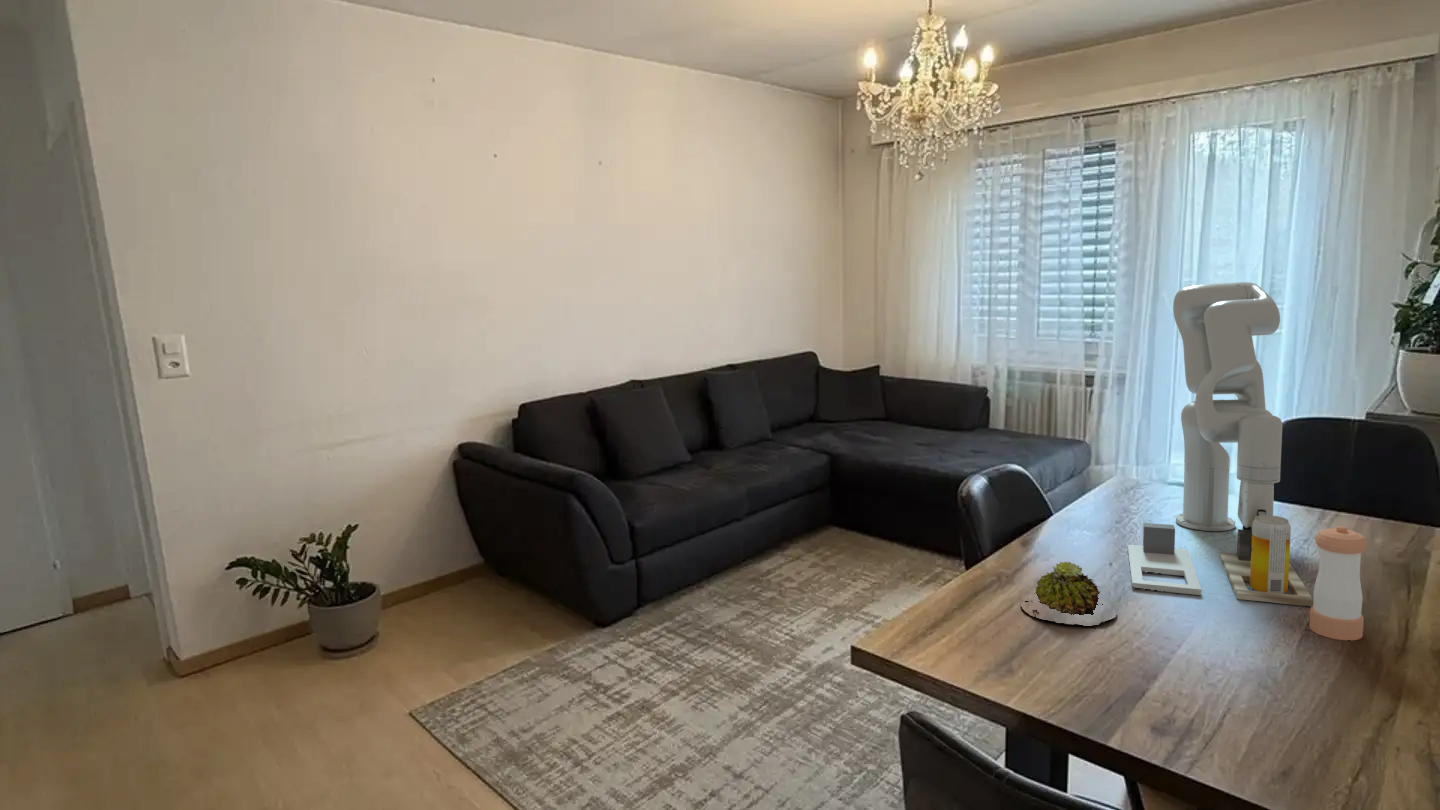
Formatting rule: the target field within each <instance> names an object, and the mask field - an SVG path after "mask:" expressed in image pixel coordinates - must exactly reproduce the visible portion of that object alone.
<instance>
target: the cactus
mask: <svg viewBox="0 0 1440 810" xmlns="http://www.w3.org/2000/svg"><path fill="white" fill-rule="evenodd" d="M1055 565H1056V566H1052V569H1053V571H1051V572H1046V574H1045V575H1042V576H1040V579H1038V580H1037V581H1036V583H1037V585H1036V587H1035V593H1036V594H1037V596H1038V599H1039V600H1040V601H1039V602H1040V603H1042V604H1045V605H1047V606H1049V608H1050V609H1056V610H1057V611H1060V612H1061V613H1069V614H1071V615H1072V614H1073V615H1074V614H1079V615H1084V614H1091V615H1093V614H1094V613H1093V610H1095V608H1096V605H1098V604H1097V602H1098V599H1099V598H1100V597H1099V594H1101V591H1099V590H1098V588H1099V586H1098V585H1097V583H1094V582H1095V580H1093V579H1092V578H1089V576H1088V575H1085V574H1084V573H1083V572H1082V571H1083V568H1082V567H1080V565H1076V564H1075V563H1071V562H1070V561H1064V562H1063V561H1062V562H1060V561H1059V563H1056V564H1055ZM1098 597H1099V598H1098ZM1102 605H1103V604H1102ZM1103 623H1105V621H1104V622H1103Z"/></svg>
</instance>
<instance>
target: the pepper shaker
mask: <svg viewBox="0 0 1440 810" xmlns="http://www.w3.org/2000/svg"><path fill="white" fill-rule="evenodd" d="M1314 541H1315V544H1316V545H1317V547H1319V548H1320V550H1319V563H1318V564H1319V565H1318V572H1317V576H1316V579H1315V582H1314V587H1313V597H1312V598H1313V606H1310V609H1309V625H1308V627H1309V629H1310V630H1311V631H1312V632H1314V633H1316V634H1317V635H1320V636H1322V637H1324V638H1329V639H1333V640H1337V641H1338V640H1339V641H1348V640H1350V641H1358V640H1361V639H1362V638H1363V636H1364V634H1363V633H1364V621H1365V620H1364V615H1363V614H1362V607H1363V599H1364V597H1363V592H1362V584H1361V578H1360V577H1361V559H1362V558H1361V557H1362V553H1364V552H1365V551H1366V550H1367V549H1368V547H1369V546H1368V542H1367V538H1365V536H1363V534H1361V533H1359V532H1356V531H1355V530H1352V529H1348V527H1346V526H1344V525H1337V526H1336V527H1330V528H1325V529H1321V530H1319V531H1318V533H1316V534H1315V537H1314Z"/></svg>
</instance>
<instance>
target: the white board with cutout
mask: <svg viewBox="0 0 1440 810" xmlns="http://www.w3.org/2000/svg"><path fill="white" fill-rule="evenodd" d="M1142 527H1143V528H1142V529H1143V530H1142V545H1137V544H1127V555H1128V554H1129V556H1128V563H1129V562H1130V565H1129V571H1131V573H1130V579H1131V580H1132V582H1131V587H1132V586H1133V587H1138V588H1144V589H1143V590H1145V589H1151V590H1150V591H1154V590H1157V592H1164V591H1165V592H1166V593H1176V594H1177V593H1178V594H1185V595H1186V594H1187V595H1194V596H1201V595H1202V587H1201V585H1200V581H1199V579H1198V576H1197V575H1198V574H1197V573H1196V570H1195V567H1194V563H1193V561H1192V560H1193V559H1192V556H1191V555H1190V551H1189V549H1187V548H1177V547H1176V546H1175V545H1176V544H1175V543H1176V540H1175V539H1176V528H1175V525H1174V524H1165V523H1152V522H1151V523H1148V522H1143V525H1142ZM1175 547H1176V548H1175ZM1142 571H1148V572H1154V573H1153V574H1158V573H1161V574H1160V575H1168V576H1169V575H1171V576H1182V577H1183V578H1184V580H1185V583H1175V582H1164V581H1155V580H1145V579H1144V577H1143V572H1142Z"/></svg>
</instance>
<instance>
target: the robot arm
mask: <svg viewBox="0 0 1440 810" xmlns="http://www.w3.org/2000/svg"><path fill="white" fill-rule="evenodd" d="M1172 304H1173V307H1172V309H1173V310H1172V311H1173V317H1174V321H1175V325H1176V326H1177V329H1178V331H1179V333H1180V337H1181V340H1182V346H1183V358H1184V359H1183V361H1184V362H1183V363H1184V376H1185V383H1186V387H1187V389H1188V391H1189V392H1190V393H1192V394H1195V401H1191V402H1189V403H1187V404H1186V405H1184V407H1183V408H1182V411H1181V413H1180V420H1181V421H1180V422H1181V428H1182V432H1183V433H1182V434H1183V442H1184V447H1183V448H1184V456H1183V457H1184V459H1183V461H1184V462H1183V463H1184V467H1183V503H1182V505H1183V507H1182V513H1179V514H1177V515H1176V516H1175V522H1176V523H1177V524H1178V525H1180V526H1181V527H1185V528H1187V529H1191V530H1198V531H1203V532H1204V531H1205V532H1225V531H1231V530H1233V529H1235V527H1236V522H1235V520H1234V519H1233V518H1231V517H1229V491H1230V490H1229V489H1230V488H1229V487H1230V462H1231V459H1230V454H1229V452H1228V450H1227V449H1225V447H1224V446H1223V445H1221V444H1223V443H1224V444H1227V443H1230V444H1231V443H1237V456H1236V457H1237V458H1236V479H1237V480H1238V481H1240V483H1239V484H1240V485H1239V492H1238V493H1239V495H1238V507H1237V517H1238V520H1239V521H1240V523H1241V525H1242V530H1252V523H1253V521H1254V520H1255V517H1256V516H1260V515H1272V516H1274V495H1275V491H1274V489H1275V487H1274V485H1275V484H1276V483H1277V484H1278V483H1280V481H1281V467H1282V466H1281V464H1282V461H1281V460H1282V445H1283V442H1282V441H1283V439H1282V438H1283V421H1282V419H1281V418H1280V417H1278V416H1277V415H1273V414H1272V413H1271V411H1269V410H1267V408H1266V397H1265V395H1266V394H1265V385H1264V384H1265V383H1264V373H1263V369H1262V366H1261V364H1260V362H1259V361H1258V360H1257V355H1256V351H1255V346H1254V340H1253V336H1254V337H1255V336H1269V335H1272V334H1274V333H1276V332H1277V331H1278V329H1279V327H1280V324H1281V313H1280V311H1279V310H1280V309H1279V307H1278V305H1277V303H1276V301H1275V300H1274V299H1273V297H1271V296H1270V294H1268V292H1266V291H1265V290H1264V289H1263V288H1262V287H1261V286H1259V285H1258V284H1257V283H1255V282H1250V281H1249V282H1248V281H1244V282H1243V281H1241V282H1238V281H1237V282H1225V283H1223V282H1222V283H1203V284H1195V285H1190V286H1187V287H1183V288H1182V289H1179V290H1178V291H1177V292H1176V294H1175V295H1174V299H1173V303H1172ZM1214 395H1235V396H1236V397H1237V399H1214ZM1251 546H1252V539H1251V542H1250V557H1251Z"/></svg>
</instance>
